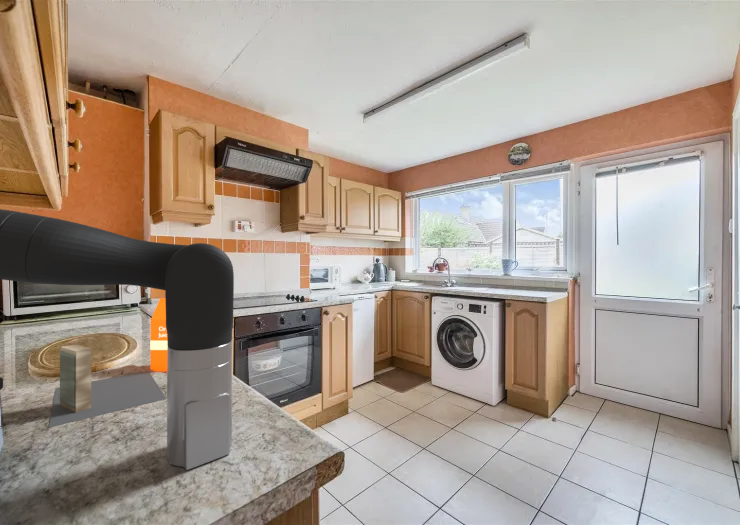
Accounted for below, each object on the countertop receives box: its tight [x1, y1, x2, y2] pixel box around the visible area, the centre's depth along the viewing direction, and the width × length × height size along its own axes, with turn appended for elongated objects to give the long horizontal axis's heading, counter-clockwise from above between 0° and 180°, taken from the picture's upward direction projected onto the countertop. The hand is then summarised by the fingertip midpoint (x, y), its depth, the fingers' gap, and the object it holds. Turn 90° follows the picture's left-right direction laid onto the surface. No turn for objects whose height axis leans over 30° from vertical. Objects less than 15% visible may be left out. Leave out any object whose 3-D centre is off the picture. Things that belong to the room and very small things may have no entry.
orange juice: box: [149, 297, 168, 372], centre depth 93 cm, size 8×9×20 cm
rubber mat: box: [48, 370, 167, 428], centre depth 72 cm, size 24×18×1 cm
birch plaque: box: [59, 344, 92, 413], centre depth 65 cm, size 3×7×12 cm, turn 62°
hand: (1, 382), depth 56 cm, fingers closed
